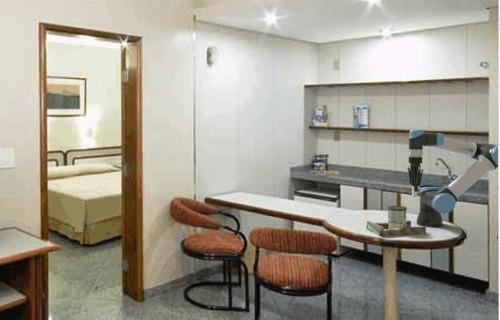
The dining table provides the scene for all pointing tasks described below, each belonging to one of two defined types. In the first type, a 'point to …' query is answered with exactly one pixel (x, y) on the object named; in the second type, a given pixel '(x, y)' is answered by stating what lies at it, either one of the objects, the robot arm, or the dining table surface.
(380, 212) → the dining table surface
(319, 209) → the dining table surface
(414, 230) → the shallow brown tray
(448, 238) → the dining table surface
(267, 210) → the dining table surface
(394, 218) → the coffee can
